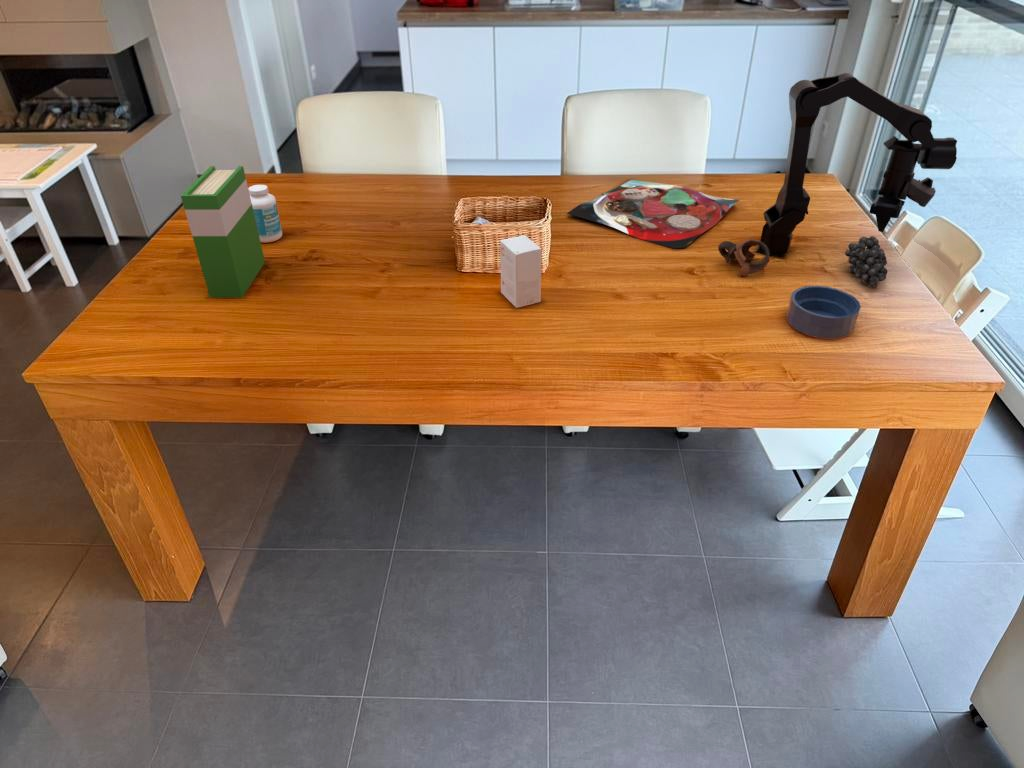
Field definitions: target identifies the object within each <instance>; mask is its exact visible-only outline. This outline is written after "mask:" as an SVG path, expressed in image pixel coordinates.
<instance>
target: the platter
mask: <svg viewBox="0 0 1024 768" xmlns="http://www.w3.org/2000/svg"><path fill="white" fill-rule="evenodd" d="M738 202H740V199H735V198H727V197H720V196H714V195H709V194H706V193H703V192H701V191H698V190H695V189H692V188H690V187H684V186H680V185H675V184H668V183H660V182H654V181H653V182H651V181H644V180H637V179H630V180H628V181H626V182H625V183H623V184H620V185H619V186H617V187H615V188H612V189H610V190H608V191H605V192H604V193H603V192H602V193H601V194H599V195H597V197H595V198H594V199H592V200H588V201H586V202H582V203H580V204H578V205H577V206H575V207H574V208H572V209H571V210H569V211H568V212H566V213H565V215H570V216H574V217H578V218H581V219H585V220H588V221H591V222H594V223H598V224H603V225H605V226H608V227H611V228H614V229H616V230H618V231H620V232H623V233H625V234H627V235H630V236H631V237H635V238H638V239H641V240H644V241H647V242H650V243H652V244H657V245H659V246H664V247H666V248H671V249H675V250H676V249H684V248H686V247H687V246H689V245H690V244H691V243H692V242H694V241H695V240H696V239H697V238H698V237H700V236H701V235H703V234H704V233H705V232H706V231H708V230H710V229H712V228H713V227H715V226H716V225H717V224H718V223H719V222H720V220H722V218H723V217H724V216H725V215H726V213H727V212H728V211H729V210H730V209H731V208H732V207H733V206H735V205H736V204H737V203H738Z"/></svg>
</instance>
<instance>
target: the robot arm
mask: <svg viewBox="0 0 1024 768" xmlns="http://www.w3.org/2000/svg"><path fill="white" fill-rule="evenodd" d="M845 98H849V99H851V100H852V101H853V102H855V103H857V104H859V105H860V106H862V107H864V108H865V109H867V110H869V111H871V112H872V113H874V114H875V115H877V116H879V117H881V118H882V119H884V120H886V121H887V122H888V123H889V124H890V125H891V127H893V128H894V129H895V130H896V131H897V132H898V133H900V134H901V136H903V137H904V138H905V139H899V138H898V137H897V136H896V135H893V136H892V137H891V138H889V139H887V140H886V141H884V142H883V145H884V146H885V148H886V149H887V150H888V151H891V152H890V155H889V158H888V162H887V165H886V168H885V171H884V172H883V176H882V181H881V184H880V188H879V189H878V192H877V195H878V197H876V198H875V199H874V200H873V201H872V203H871V205H870V209H869V211H868V212H869V214H871V215H875V220H876V225H877V230H878V232H880V233H884V231H885V230H886V228H887V226H888V225H889V222H890V221H891V219H898V218H899V217H900V215H901V212H902V210H903V207H904V206H905V204H906V200H907V198H908V199H909V200H911V201H913V202H914V203H916V204H918V206H919V207H922V208H925V207H926V206H927V205H928V204H929V203H930V202H931V200H932V199H933V197H935V195H936V192H937V191H936V189H935V187H933V184H934V179H932V178H930V177H929V176H928V177H925V178H924V179H922V180H921V179H916V178H914V177H915V174H916V173H915V169H916V166H917V164H918V165H919V166H920V168H921V169H923V170H951V169H952V168H953V167H954V165H955V164H956V161H957V159H958V158H957V153H958V152H957V151H958V149H957V143H958V140H957V139H956V138H955V137H944V138H943V137H934V135H933V133H932V128H933V121H932V119H931V118H930V117H929V116H927V114H926V113H924V112H923V111H921V110H920V109H919V108H916V107H913V106H910V105H908V104H904V103H899V102H898V101H897V102H896V101H894V100H892V99H891V98H889V97H887V96H885V95H884V94H883V93H881V92H879V91H877V90H876V89H874V88H873V87H871V86H869V85H867V84H865V83H864V82H862V81H861V80H859V79H858V78H857V77H855V76H854V75H853V74H852V73H850V72H844V73H840V74H838V75H834V76H826V77H819V78H816V79H815V78H814V79H811V80H810V79H802V80H799V81H797V82H795V83H794V84H793V85H792V86H791V87H790V89H789V92H788V103H789V104H788V106H789V113H790V114H789V115H790V120H791V127H790V135H789V144H788V150H787V157H786V165H785V173H784V178H783V184H782V185H781V188H780V189H779V191H778V193H777V197H776V200H775V203H774V204H773V205H772V206H770V207H769V208H768V209H766V210H765V211H764V212H763V217H764V218H763V219H764V221H765V224H764V225H763V227H762V230H761V235H760V240H759V241H761V242H763V243H764V244H765V245H766V246H767V247H768V249H769V252H770V255H769V256H772V257H777V258H783V257H784V256H785V255H786V254H787V253H789V252H790V251H789V250H790V248H791V244H792V241H793V236H794V234H793V233H794V231H795V229H796V227H797V226H798V225H800V224H801V223H802V222H804V220H805V217H806V215H809V209H808V208H809V204H810V202H811V196H810V195H809V193H808V191H807V190H806V188H805V187H804V182H805V176H806V169H807V163H808V162H807V161H808V155H809V149H810V142H811V135H812V128H813V125H814V124H815V122H816V121H817V119H818V117H819V114H820V111H821V108H822V107H826V106H829V105H832V104H834V103H835V102H838V101H839V100H842V99H845ZM916 142H918V143H916ZM756 253H759V254H764V255H765V251H764V250H762V248H761V247H760V246H759V245H758V247H757V249H756Z"/></svg>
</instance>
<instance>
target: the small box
mask: <svg viewBox="0 0 1024 768" xmlns="http://www.w3.org/2000/svg"><path fill="white" fill-rule="evenodd" d="M499 250H500V252H499V253H500V254H499V255H500V256H499V257H500V293H501V294H502V296H504V297H505V299H507V300H508V302H510V303H511V305H512V306H514V308H515V309H519V308H522V307H527V306H530V305H534V304H538V303H541V302H542V251H543V250H542V248H541V247H540V246H539V245H538V244H537V243H535V242H534V241H533V240H532V239H531V238H530V237H528V236H527V235H526V234H524V235H519V236H514V237H509V238H504V239H500V240H499Z"/></svg>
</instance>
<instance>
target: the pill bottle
mask: <svg viewBox="0 0 1024 768" xmlns="http://www.w3.org/2000/svg"><path fill="white" fill-rule="evenodd" d="M248 190H249V194H250V199H251V203H252V207H253V212H254V216H255V220H256V225H257V229H258V234H259V238H260V242H261V243H266V244H267V243H273V242H276V241H278V240H280V239H281V238H282V237H283V229H282V224H281V219H280V215H279V209H278V203H277V199H276V196H275V195H273V194H271V193H269V187H268V186H267V185H266V184H254V185H251V186H248Z"/></svg>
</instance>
